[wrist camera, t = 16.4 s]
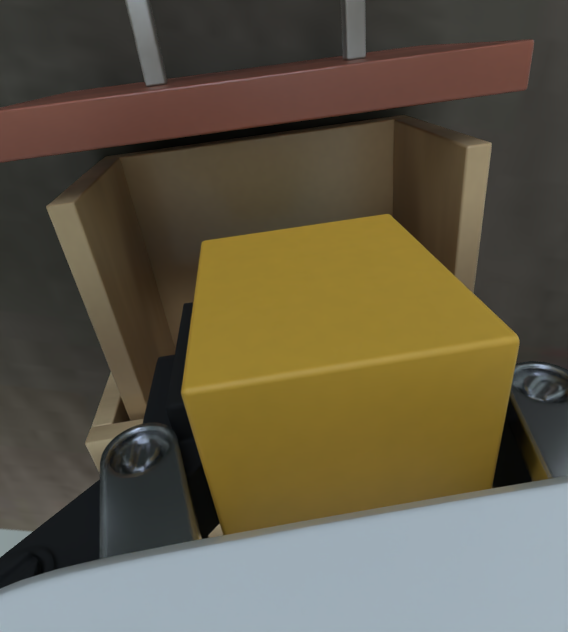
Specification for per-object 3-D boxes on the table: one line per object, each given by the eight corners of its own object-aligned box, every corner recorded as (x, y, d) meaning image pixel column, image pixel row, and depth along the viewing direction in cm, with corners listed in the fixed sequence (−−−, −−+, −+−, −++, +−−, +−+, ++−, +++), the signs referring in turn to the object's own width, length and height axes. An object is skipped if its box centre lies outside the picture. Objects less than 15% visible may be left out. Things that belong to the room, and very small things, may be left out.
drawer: (11, -84, 15) (-161, -197, 8) (428, -131, 16) (583, -272, 9) (156, 363, 25) (131, 477, 18) (410, 322, 25) (477, 418, 19)
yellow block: (200, 239, 10) (178, 392, 6) (389, 212, 10) (524, 337, 6) (241, 427, 13) (250, 629, 9) (388, 403, 14) (474, 588, 9)
